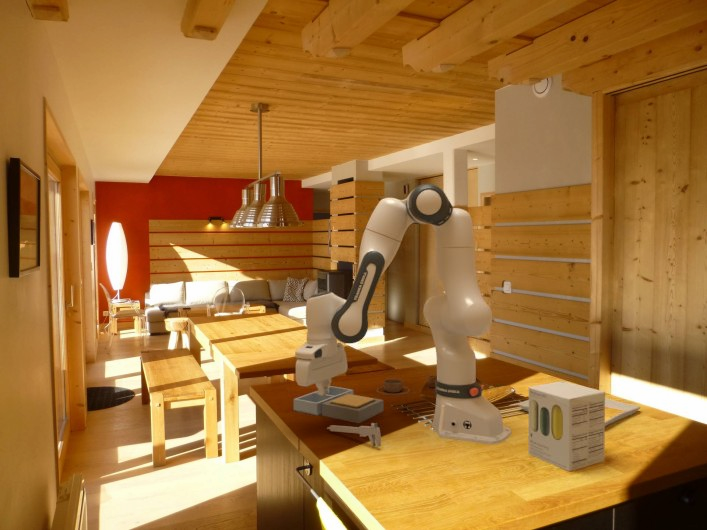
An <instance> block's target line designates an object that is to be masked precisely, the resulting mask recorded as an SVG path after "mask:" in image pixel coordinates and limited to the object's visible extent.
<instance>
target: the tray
mask: <svg viewBox="0 0 707 530" xmlns="http://www.w3.org/2000/svg"><path fill="white" fill-rule="evenodd" d="M346 394H352V395H354V389H350V388H344V387H339V386H335V385H334V386H332V385H330V387H329V393H328V394H325V395H323V396H322V395H319V394H318V390H316V391H312V392H310V393H307V394H304V395H302V396H298V397H295V398H293V411H295V412H297V413H302V414H303V413H304V414H308V415H313V416H317V417H318V416H320V415H322V403H325V402H327V401H330V400H333V399H335V398H338V397H340V396H343V395H346Z"/></svg>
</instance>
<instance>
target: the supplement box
mask: <svg viewBox="0 0 707 530" xmlns="http://www.w3.org/2000/svg"><path fill="white" fill-rule="evenodd" d="M605 398H606V391H602V390H600V389H596V388H592V387H587V386H584V385H581V384H580V385H579V384H577V383H572V382H568V381H564V380H562V381H556V382H555V381H554V382H550V383H544V384H537V385H533V386H529V387H528V400H529V412H528V453H527V454H528V455H530V456H532V457H535V458H537V459H539V460H542V461H543V462H546V463H549V464H551V465H553V466H555V467H558V468H560V469H563V470H565V471H568V472H572V471H575V470H579V469H583V468H585V467H589V466H592V465H595V464H599V463H602V462H605V440H606V439H605V437H606V436H605V434H606V433H605V432H606V431H605V428H606V426H605V421H606V407H605Z"/></svg>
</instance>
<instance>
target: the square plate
mask: <svg viewBox="0 0 707 530" xmlns="http://www.w3.org/2000/svg"><path fill="white" fill-rule="evenodd" d="M517 406H519V407H520V408H521V409H522V410H524V411H525V412H527V413H529V399H526V400H524V401H522V402H519V403H517ZM605 408H609V409H614V410H620V411H622V412H620V413H618V414H615V415H614V416H612V417H610V418H609V419H607V420H605V427H607V426H608V425H610V424H613V423H615V422H616V421H619V420H622V419H625V418H627V417H630V416H631V415H633V414H635V413H636V412H637V411H639V410H640V409H641V407H640V406H639V405H635V404H631V403H627V402H621V401H617V400H614V399H610V398H606V397H605Z"/></svg>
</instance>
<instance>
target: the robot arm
mask: <svg viewBox="0 0 707 530" xmlns="http://www.w3.org/2000/svg"><path fill="white" fill-rule="evenodd" d="M472 219H473V218H472V216H471V214H470V213H469V212H468V211H467V210H466V209H463V208H459V207H453V204H452V203H451V201H450V199H449V198H448V196H447V194H446V192H445V191H444V190H443V189H442V188H441V187H440V186H438V185H437V184H434V183H422V184H420V185H418V186H416V187H415V188H414V189H412V191H410V193H409V194H408V195H407V196H406V197H405V198H404V199H399V198H395V197H384V198H382V199H381V200H379V202H378V204H377V205H375V208H374V210H373V212H372V213H371V215H370V217H369V220H368V222H367V224H366V226H365V228H364V232H363V234H362V237H361V242H360V247H359V255H358V267H357V271H356V272H357V273H356V276H355V278H354V281H353V283H352V286H351V288H350V292H349V294H348V295H347V299H345V298H343V297H340V296H338V295H337V294H335V293H334V292H332V291H327V290H326V291H321V292H318V293H314V294H312V295H310V296H309V297H308V298H307V300H306V305H305V325H306V328H307V334H306V342H304V343H303V344H302V345H301V346H300V347H299V348H298V349H297V350H296V351H295V353H294V355H295V358H297V359H296V362H295V381H296V383H297V385H298V386H301V387H310V386H312V385H315V386H316V388H317V391H318V394H319V395H322V396H323V395H325V394H328V393H329V387H330V386H331V383H332V380H333V379H332V378H335V377H337V376H340V375H342V374H345V373H347V370H348V358H347V353H346V350H345V346H344V345H343V344H342V343H344V344H355V343H357V342H360V341H362V339H364V337H365V336H366V335H367V333H368V329H369V319H368V317H369V316H368V314H369V313H368V311H369V308H370V305H371V302H372V299H373V297H374V294H375V291H376V288H377V286H378V284H379V281H380V280H381V278H382V276H383V274H384V273H385V271H386V270H387V268H388V267H389V266H390V264H391V263H392V261H393V260H394V258H395V256H396V254H397V252H398V250H399V248H400V246H401V242H402V241H403V239H404V235H405V234H406V231H407V229H408V228H409V227H410V225H411V224H415V225H430V226H431V227H432V228H433V230H434V233H435V265H436V267H435V273H436V276H437V278H438V279H439V281H440V282H441V284H442V287H443V290H444V293H440V294H435V295H432V296H430V297H429V298H428V299H427V300H426V301H425V303H424V305H423V309H422V311H423V317H424V319H425V321H426V322H427V325H429V327H430V331H431V335H432V338H433V343H434V348H435V353H436V378H435V383H434V386H435V388H434V393H435V398H436V400H435V407H434V408H435V409H434V413H433V415H434V416H433V418H432V419H433V420H432V423H431V426H432V428H433V430H434V431H433V430H432V431H433V432H434V433H436V432H437V433H436V434H437V435H438V437H439V438H440V439H447V438H449V440H455V439H456V440H455V441H463V442H471V443H477V444H486V445H496V444H499V443H502V442H505V441H506V440H508V439H509V438H510V436H511V435H512V430H511V428H510V427H508V426H505V425H504V423H503V422H504V421H503V416H502V413H501V411H500V410H499V409H498V408H497V407H496V406H495V405H494V404H492V403H491V402H490V401H489V400H488V399H487V398H486V397H485V396H484V395H482V394H483V391H482V390H483V389H484V387H485V386H484V384H479V382H477V380H476V378H477V377H476V373H477V372H476V366H477V365H476V364H477V363H476V360H477V359H476V358H477V357H476V353H475V352H474V349H473V348H472V346H471V345H470V343H469V339H468V337H478V336H481V335H484V334H486V333H487V332H488V331H489V330H490V328H491V326H492V323H493V311H492V310H491V308H490V305H488V303H487V302H486V301H485V299H484V297H483V295H482V291H481V289H480V285H479V282H478V277H477V271H476V247H475V246H476V245H475V244H476V241H475V231H474V225H473V224H474V223H473V221H472ZM338 341H340V342H338ZM341 342H342V343H341ZM432 428H431V429H432Z"/></svg>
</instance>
